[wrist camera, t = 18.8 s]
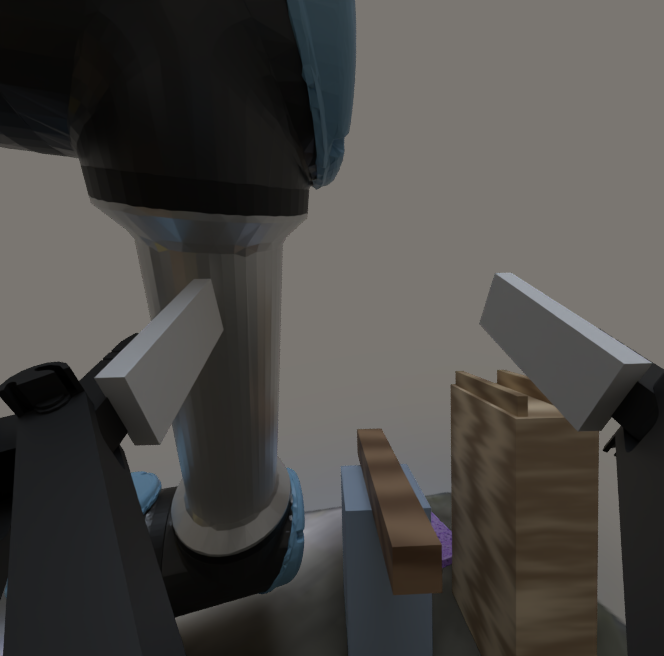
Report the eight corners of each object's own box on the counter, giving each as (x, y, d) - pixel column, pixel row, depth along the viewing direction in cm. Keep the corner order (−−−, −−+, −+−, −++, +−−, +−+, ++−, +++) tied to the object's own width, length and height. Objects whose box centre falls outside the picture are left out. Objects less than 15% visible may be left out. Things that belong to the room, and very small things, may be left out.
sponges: (424, 512, 60) (423, 503, 60) (471, 559, 48) (471, 548, 48) (395, 521, 57) (395, 512, 57) (438, 572, 46) (438, 561, 46)
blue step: (432, 659, 34) (431, 507, 33) (348, 663, 33) (345, 511, 33) (408, 581, 44) (406, 463, 43) (343, 584, 43) (340, 466, 43)
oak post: (595, 726, 28) (599, 395, 27) (516, 730, 28) (516, 397, 27) (505, 590, 42) (505, 369, 41) (452, 592, 42) (450, 370, 41)
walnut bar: (442, 592, 23) (441, 544, 23) (393, 595, 23) (392, 547, 23) (381, 452, 47) (381, 428, 47) (357, 453, 47) (357, 429, 47)
